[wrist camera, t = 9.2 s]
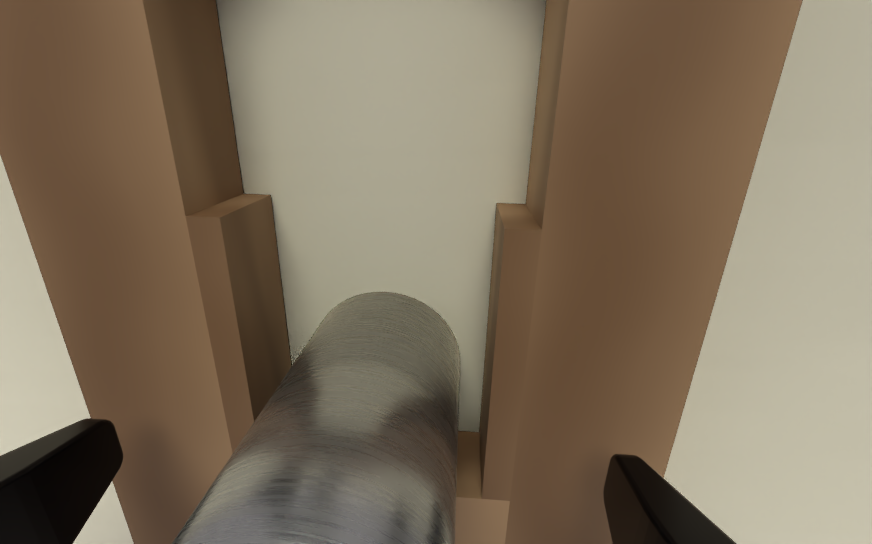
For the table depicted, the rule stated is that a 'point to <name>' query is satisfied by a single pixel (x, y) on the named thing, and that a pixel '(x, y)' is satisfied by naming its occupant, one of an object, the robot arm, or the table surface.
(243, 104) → the table surface
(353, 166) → the table surface
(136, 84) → the keyhole board
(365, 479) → the peg
